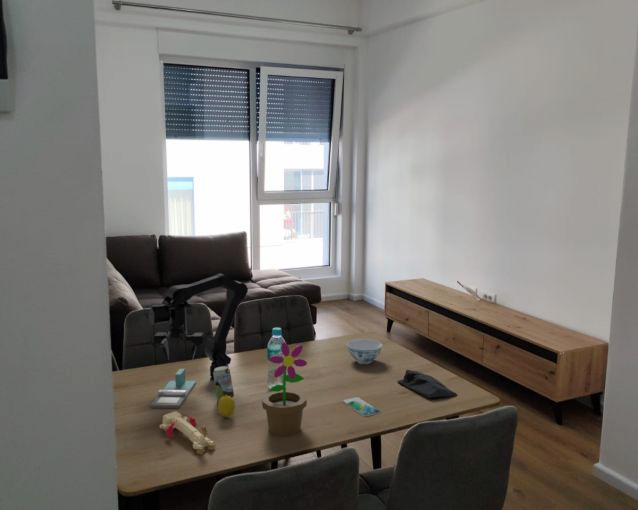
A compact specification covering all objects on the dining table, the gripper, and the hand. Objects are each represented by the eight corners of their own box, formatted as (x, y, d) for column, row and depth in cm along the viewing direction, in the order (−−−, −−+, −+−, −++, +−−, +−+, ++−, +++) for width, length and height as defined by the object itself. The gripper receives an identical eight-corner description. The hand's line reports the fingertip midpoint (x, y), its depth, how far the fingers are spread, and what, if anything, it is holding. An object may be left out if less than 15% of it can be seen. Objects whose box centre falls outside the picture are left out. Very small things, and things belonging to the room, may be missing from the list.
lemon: (227, 423, 187) (227, 399, 186) (214, 419, 190) (214, 396, 189) (238, 416, 192) (238, 394, 191) (225, 413, 195) (225, 390, 194)
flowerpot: (270, 442, 174) (269, 347, 170) (256, 423, 187) (255, 334, 183) (313, 434, 180) (314, 341, 175) (297, 416, 193) (296, 329, 188)
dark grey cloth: (424, 403, 205) (425, 390, 204) (394, 381, 225) (394, 370, 224) (460, 397, 210) (461, 384, 209) (427, 376, 230) (428, 365, 230)
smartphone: (357, 396, 208) (381, 411, 196) (357, 398, 209) (381, 414, 196) (340, 399, 205) (364, 415, 192) (340, 402, 205) (364, 418, 192)
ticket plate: (191, 390, 215) (191, 383, 214) (179, 408, 199) (178, 401, 198) (164, 389, 215) (164, 383, 215) (150, 407, 199) (150, 400, 199)
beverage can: (230, 403, 202) (229, 371, 201) (211, 402, 204) (210, 369, 202) (236, 397, 208) (235, 365, 207) (217, 395, 210) (216, 364, 208)
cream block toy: (221, 450, 172) (180, 417, 190) (221, 424, 170) (180, 393, 188) (191, 462, 166) (152, 426, 184) (192, 434, 164) (152, 401, 182)
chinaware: (383, 367, 239) (383, 349, 238) (347, 367, 239) (347, 349, 238) (380, 356, 254) (380, 339, 253) (346, 355, 254) (346, 338, 253)
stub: (195, 383, 221) (195, 368, 221) (191, 389, 215) (190, 374, 214) (170, 382, 222) (169, 368, 221) (165, 389, 215) (164, 374, 214)
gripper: (146, 325, 207) (148, 367, 209) (197, 326, 206) (199, 367, 209) (156, 317, 218) (158, 357, 220) (204, 318, 217) (206, 357, 220)
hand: (179, 359), depth 217 cm, fingers open, 9 cm apart
